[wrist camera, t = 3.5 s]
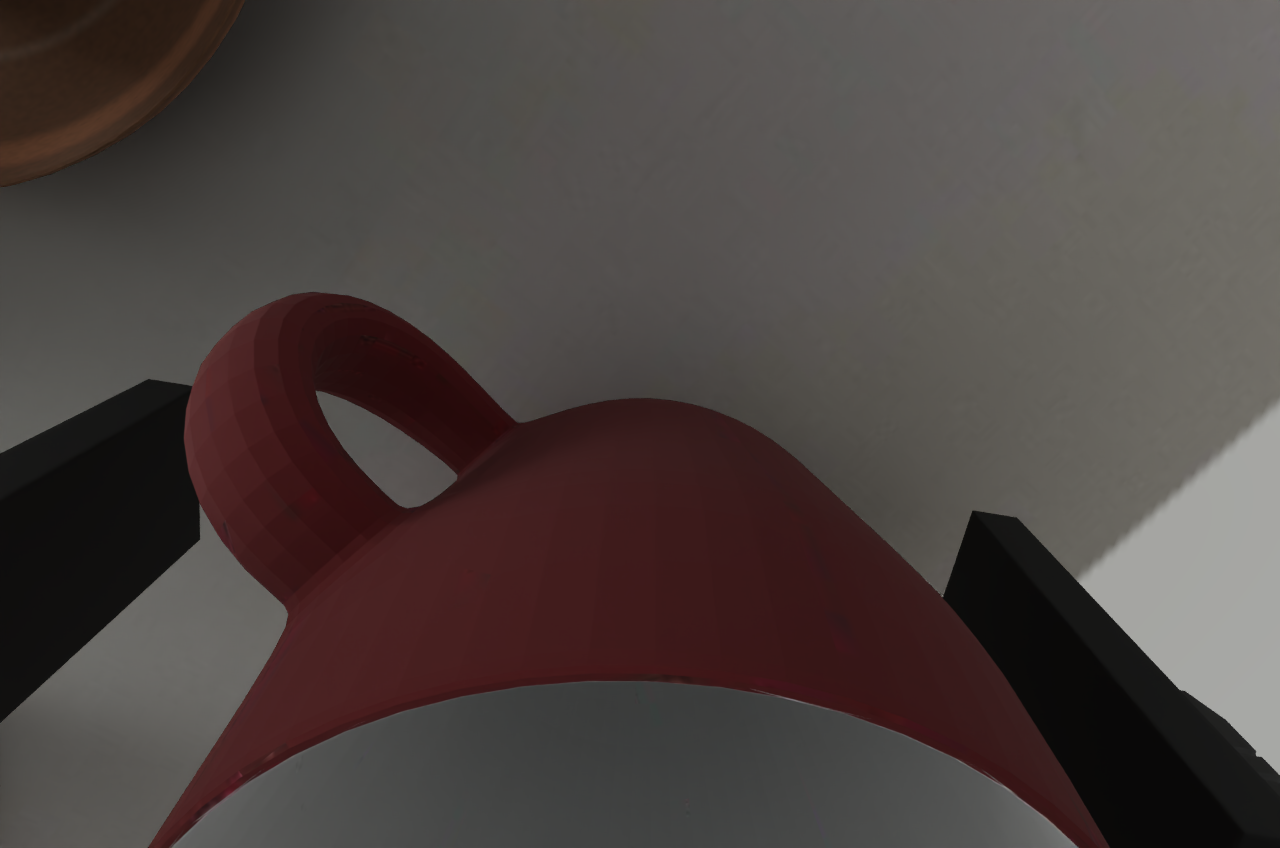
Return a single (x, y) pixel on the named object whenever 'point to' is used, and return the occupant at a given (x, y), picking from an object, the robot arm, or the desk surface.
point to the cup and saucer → (94, 73)
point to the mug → (577, 630)
